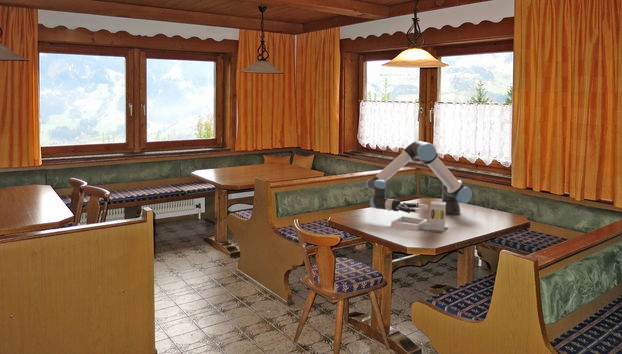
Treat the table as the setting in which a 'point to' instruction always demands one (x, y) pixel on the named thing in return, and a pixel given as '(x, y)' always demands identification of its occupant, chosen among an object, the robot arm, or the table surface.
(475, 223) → the table surface
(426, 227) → the charcoal mat
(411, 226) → the beige square tray
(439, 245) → the table surface
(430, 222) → the supplement box
